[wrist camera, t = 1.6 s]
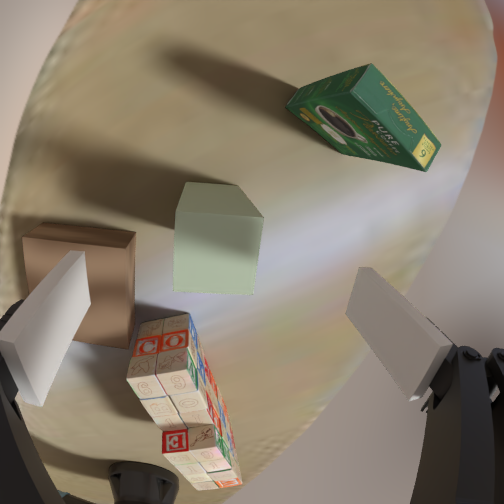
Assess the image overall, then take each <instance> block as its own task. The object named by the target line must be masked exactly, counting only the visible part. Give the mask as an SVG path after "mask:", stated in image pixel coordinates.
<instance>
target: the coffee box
mask: <svg viewBox="0 0 504 504" xmlns="http://www.w3.org/2000/svg"><path fill="white" fill-rule="evenodd" d="M285 108H286V109H288V110H289V111H291V112H292V113H293V114H294V115H295V116H297V117H298V118H299V119H300V120H302V121H303V122H305V123H306V124H307V125H309V126H310V127H311V128H312V129H313V130H315V131H316V132H317V133H318V134H319V135H321V136H322V137H323V138H324V139H325V140H326V141H328V142H329V143H330V144H331V145H332V146H333V147H335V148H336V149H337V150H338V151H339V152H340V153H341V154H344V155H348V156H354V157H360V158H365V159H370V160H376V161H380V162H385V163H390V164H394V165H399V166H403V167H407V168H411V169H416V170H420V171H423V172H427V171H428V169H429V167H430V165H431V163H432V161H433V159H434V158H435V156H436V154H437V153H438V151H439V149H440V147H441V143H440V142H439V141H438V139H437V138H436V136H435V135H434V134H433V132H432V131H431V130H430V128H429V127H428V126H427V125H426V123H425V122H424V121H423V120H422V118H421V117H420V116H419V114H418V113H417V112H416V111H415V110H414V108H413V107H412V106H411V105H410V104H409V102H408V101H407V100H406V99H405V98H404V97H403V96H402V94H401V93H400V92H399V91H398V90H397V89H396V88H395V87H394V85H393V84H392V83H391V82H390V81H389V80H388V79H387V78H386V77H385V76H384V75H383V74H382V73H381V72H380V71H379V70H378V69H377V68H376V67H375V66H374V65H373V64H372V63H370V64H367V65H364V66H361V67H357V68H354V69H351V70H348V71H345V72H342V73H339V74H336V75H333V76H330V77H327V78H325V79H322V80H319V81H316V82H313V83H311V84H309V85H306V86H304V87H301V88H300V89H298V90H297V92H296V93H295V94H294V96H293V97H292V98H291V99H290V101H289V102H288V103H287V105H286V107H285Z"/></svg>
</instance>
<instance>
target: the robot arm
mask: <svg viewBox="0 0 504 504" xmlns="http://www.w3.org/2000/svg"><path fill="white" fill-rule="evenodd" d="M90 305H91V302H90V295H89V288H88V280H87V271H86V261H85V251H69V252H68V253H67V254H66V255H65V256H64V257H63V258H62V260H61V261H60V262H59V263H58V264H57V265H56V266H55V267H54V268H53V269H52V270H51V271H50V272H49V273H48V274H47V276H46V277H45V278H44V279H43V280H42V281H41V282H40V283H39V284H38V286H37V287H36V288H35V289H34V290H33V291H32V292H31V294H30V295H29V296H28V297H27V298H26V300H22V299H21V300H20V301H18V302H16V303H15V304H13V305H12V306H11V307H10V308H9V309H8V310H7V312H6V313H5V315H3V317H2V318H1V319H0V504H96V503H93V502H90V501H87V500H84V499H81V498H78V497H76V496H73V495H71V494H70V493H67V492H62V491H59V490H57V489H56V487H55V485H54V483H53V482H52V480H51V478H50V476H49V474H48V472H47V470H46V469H45V467H44V465H43V463H42V461H41V459H40V457H39V455H38V452H37V450H36V448H35V446H34V444H33V441H32V439H31V437H30V435H29V432H28V430H27V427H26V425H25V422H24V420H23V417H22V414H21V412H20V409H19V406H18V404H17V402H16V400H15V396H16V394H17V392H18V391H19V393H20V395H21V397H22V398H23V400H24V402H26V403H29V404H33V405H36V406H40V407H42V406H43V404H44V401H45V399H46V396H47V394H48V392H49V389H50V387H51V384H52V382H53V380H54V378H55V375H56V373H57V371H58V369H59V366H60V364H61V362H62V360H63V358H64V356H65V354H66V351H67V349H68V347H69V345H70V343H71V341H72V339H73V337H74V335H75V333H76V331H77V329H78V327H79V325H80V323H81V322H82V320H83V318H84V316H85V314H86V312H87V310H88V308H89V307H90ZM345 314H346V315H347V316H348V318H349V319H350V320H351V322H352V323H353V324H354V326H355V327H356V328H357V330H358V331H359V332H360V334H361V335H362V336H363V338H364V339H365V341H366V342H367V343H368V345H369V346H370V347H371V349H372V350H373V351H374V353H375V354H376V356H377V357H378V358H379V360H380V361H381V362H382V364H383V365H384V367H385V368H386V370H387V371H388V372H389V374H390V375H391V377H392V378H393V379H394V381H395V382H396V384H397V385H398V386H399V388H400V389H401V391H402V392H403V394H404V395H405V396H406V398H407V399H408V401H411V400H414V399H418V398H421V397H422V396H423V395H424V393H425V392H426V390H427V389H428V387H430V388H431V389H432V390H433V392H432V393H431V395H430V396H429V398H428V399H427V401H426V402H425V404H424V405H423V407H422V409H421V411H423V410H424V409H425V408H426V407H428V410H427V411H426V413H427V421H426V428H425V435H424V442H423V448H422V453H421V459H420V464H419V468H418V473H417V478H416V482H415V486H414V490H413V494H412V498H411V501H410V504H504V349H500V348H494V349H493V350H492V352H491V353H490V355H489V357H488V358H483V357H482V356H481V355H480V354H479V353H478V352H477V351H476V350H474V349H473V348H470V347H468V346H460V347H459V348H458V347H457V346H456V345H455V344H454V343H453V342H452V341H451V340H450V339H449V338H448V337H447V336H446V335H445V334H444V333H443V332H442V331H440V330H439V328H438V327H437V326H435V325H434V324H433V323H432V322H431V321H430V320H429V319H428V318H427V317H425V316H424V315H423V314H422V313H421V312H420V311H419V310H418V309H417V308H416V307H414V306H413V305H412V304H411V303H410V302H409V301H408V300H407V299H406V298H405V297H404V296H403V295H401V294H400V293H399V292H398V291H397V290H396V289H395V288H394V287H393V286H391V285H390V284H389V283H388V282H387V281H386V280H385V279H384V278H383V277H381V276H380V275H379V274H378V273H377V272H376V271H375V270H373V269H372V268H368V267H359V269H358V273H357V277H356V280H355V284H354V287H353V290H352V294H351V297H350V300H349V304H348V307H347V310H346V313H345ZM498 388H499V390H500V394H499V395H498V396H497V398H496V399H495V401H494V402H492V400H491V397H492V396H493V394H494V393H495V391H496V390H497V389H498ZM108 477H109V482H110V486H111V490H112V493H113V497H114V504H174V501H175V499H176V496H177V493H178V490H179V479H178V477H177V476H176V475H175V474H174V473H172V472H170V471H168V470H166V469H163V468H160V467H157V466H154V465H149V464H144V463H136V462H121V463H116V464H113V465H111V466H110V468H109V475H108Z"/></svg>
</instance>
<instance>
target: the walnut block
mask: <svg viewBox="0 0 504 504" xmlns="http://www.w3.org/2000/svg"><path fill="white" fill-rule="evenodd" d="M22 242H23V253H24V261H25V269H26V277H27V283H28V289H29V295H30V294H31V292H32V291H33V290H34V289H35V288H36V287H37V286H38V284H39V283H40V282H41V281H42V280H43V279H44V278H45V277H46V276H47V274H48V273H49V272H50V271H51V270H52V269H53V268H54V267H55V266H56V265H57V264H58V263H59V262H60V261H61V260H62V258H63V257H64V256H65V255H66V254H67V253H68V252H69V251H85V261H86V271H87V280H88V288H89V295H90V302H91V305H90V307H89V308H88V310H87V312H86V314H85V316H84V318H83V320H82V322H81V323H80V325H79V327H78V329H77V331H76V333H75V335H74V337H73V339H72V340H74V341H79V342H85V343H90V344H96V345H102V346H109V347H115V348H122V349H129V345H130V341H131V337H132V334H133V330H134V326H135V246H136V232H129V231H119V230H110V229H100V228H91V227H81V226H72V225H62V224H52V223H42V224H40V225H39V226H37V227H36V228H34V229H33V230H31V231H30V232H28V233H27V234H25V235H24V236H23V237H22Z"/></svg>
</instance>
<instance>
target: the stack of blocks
mask: <svg viewBox="0 0 504 504" xmlns="http://www.w3.org/2000/svg"><path fill="white" fill-rule="evenodd" d="M126 379H127V382H128V383H129V384H130V386H131V388H132V389H133V390H134V392H135V394H136V395H137V396H138V398H139V400H140V402H141V403H142V405H143V406H144V408H145V409H146V410H147V412H148V413H149V415H150V416H151V417H152V419H153V420H154V422H155V423H156V424H157V425H158V427H159V428H160V429H161V430H162V431H163V433H162V454H163V455H164V456H165V457H166V458H167V459H168V460H169V462H170V463H171V464H172V465H174V466H175V467H176V468H177V469H178V470H179V471H180V472H181V473H182V475H183V476H184V477H185V478H186V479H187V480H188V481H189V482H190V483H191V484H192V485H193V486H194V487H195V488H196V489H197V490H209V489H218V488H219V487H220V488H224V487H230V486H236V485H241V484H243V483H242V478H241V474H240V469H239V463H238V458H237V452H236V450H235V444H234V439H233V430H232V425H231V420H230V417H229V415H228V412H227V409H226V406H225V404H224V401H223V399H222V396H221V394H220V391H219V389H218V386H217V384H215V381H214V379H213V376H212V373H211V371H210V369H209V367H208V364H207V362H206V359H205V356H204V351H203V348H202V346H201V343H200V340H199V337H198V335H197V333H196V330H195V327H194V324H193V321H192V319H191V316H190V314H189V313H188V314H184V315H179V316H174V317H169V318H165V319H158V320H153V321H148V322H144V323H141V324H140V328H139V331H138V336H137V339H136V342H135V346H134V351H133V355H132V358H131V359H130V363H129V368H128V372H127V377H126Z"/></svg>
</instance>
